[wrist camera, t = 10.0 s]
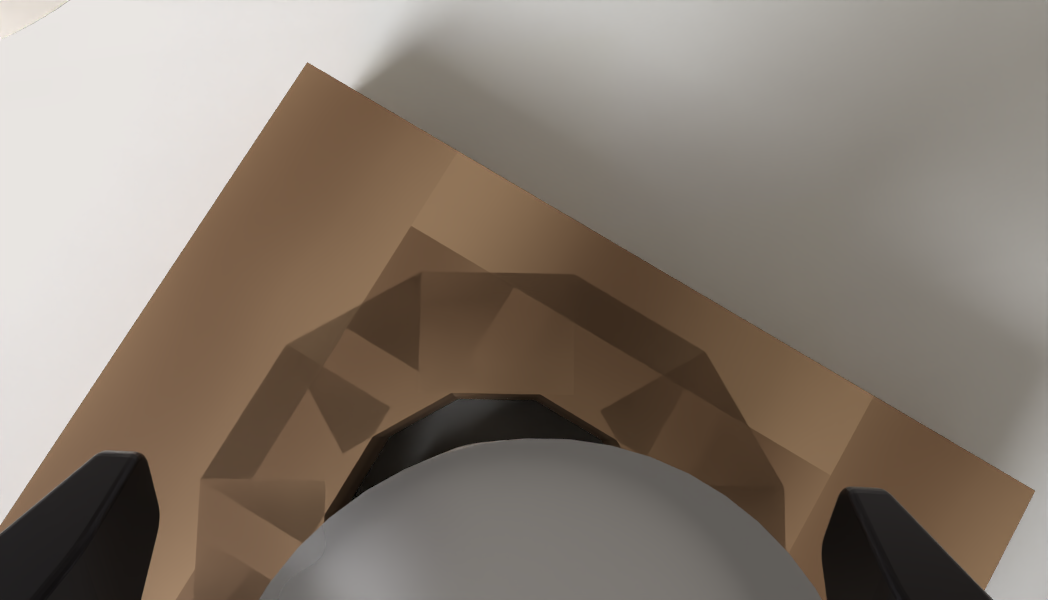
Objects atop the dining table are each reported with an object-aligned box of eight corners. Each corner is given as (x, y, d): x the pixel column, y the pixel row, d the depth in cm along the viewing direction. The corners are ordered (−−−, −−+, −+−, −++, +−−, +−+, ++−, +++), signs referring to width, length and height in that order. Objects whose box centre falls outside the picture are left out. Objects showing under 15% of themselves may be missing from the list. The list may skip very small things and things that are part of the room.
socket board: (964, 484, 19) (1035, 490, 16) (675, 1037, 17) (705, 1138, 15) (331, 110, 19) (307, 62, 17) (3, 612, 18) (-76, 640, 15)
